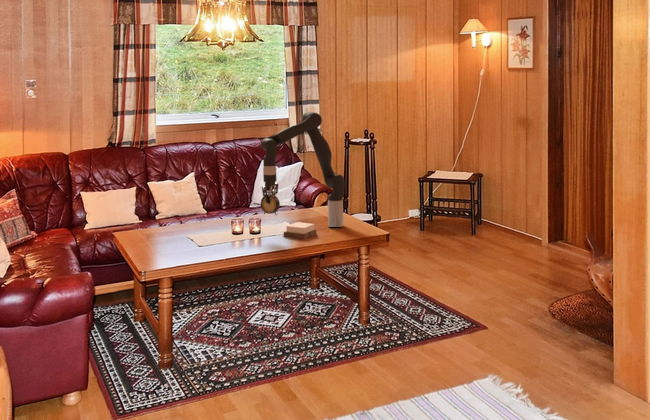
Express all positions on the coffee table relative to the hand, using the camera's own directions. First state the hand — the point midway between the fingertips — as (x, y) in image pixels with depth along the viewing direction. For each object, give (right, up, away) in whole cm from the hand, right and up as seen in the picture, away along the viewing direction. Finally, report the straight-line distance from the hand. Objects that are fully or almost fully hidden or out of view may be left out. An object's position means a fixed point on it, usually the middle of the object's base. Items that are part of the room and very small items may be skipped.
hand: (270, 202), depth 415 cm
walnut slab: (+17, -20, +7) cm, 27 cm away
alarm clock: (0, -7, +1) cm, 8 cm away
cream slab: (+17, -17, +6) cm, 25 cm away
